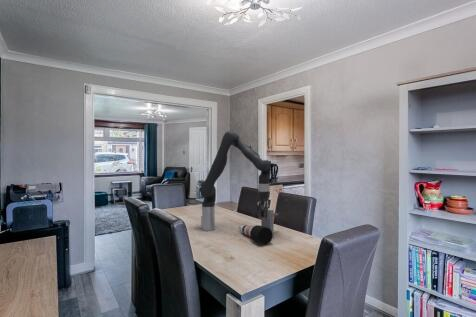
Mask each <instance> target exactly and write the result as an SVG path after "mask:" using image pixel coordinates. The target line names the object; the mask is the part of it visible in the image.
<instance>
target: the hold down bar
mask: <svg viewBox="0 0 476 317" xmlns="http://www.w3.org/2000/svg"><path fill="white" fill-rule="evenodd" d="M268 210H269V208H264V210H263V211H264V216H263V217H261V216H260V215H259V220H260V221H261V220H267V211H268ZM273 215H274V218H276V217H278V216H279V213H278V212H273Z"/></svg>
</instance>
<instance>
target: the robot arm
mask: <svg viewBox="0 0 476 317" xmlns="http://www.w3.org/2000/svg"><path fill="white" fill-rule="evenodd" d="M231 146H234V148H237V149H238V150H239V151H240V152H241V153H242V155H243V156H244V157H245V158H246V159H247V160H248V161H249V162H251V163H252V165H253V166H254V168H256V169H257V170H258V171H260V173H259V175H258V186H257V197H258V198H259V200H258V201H256V207H257V211H259V217H260V216H261V217H263V216H264V211H263V210H264V208H268V209H270V207H271V200H272V199H269V198H270V190H271V189H270V174H271V169H272V168H271V167H272V166H271V162H270V161H269V160H267V159H265V160H264V159H263V158H261V156H260V154H259V153H258V152H256V151H255V150H254V149H253V148H252V147H251V146H249V145H248V144H246V142H244V141H243V139H242V138H241V137H240V135H238V133H236V132H233V131H231V130H230V131H229V130H228V131H226V132H225V133H224V134H223V136H222V139H221V142H220V146H219V148H218V151H217V152H216V155H215V157H214V159H213V162H212V164H211V167H210V169H209V170H208V174H207V176H206V179H205V181H204V182H203V184H202V185H201V188H200V190H199V191H200V196H201V197H203V201H202V202H201V216H200V217H201V219H200V220H201V221H200V222H201V225H200V226H201V227H200V229H201V230H202V231H206V232H211V231H214V230H216V224H215V222H216V221H215V220H216V218H215V217H216V214H215V213H216V212H215V211H216V209H215V208H216V206H215V205H216V201H217V200H216V198H217V189H216V187H215V184H216V182H217V180H218V179H219V178H220V177H221V175H222V173H223V172H224V171H225V168H226V166H227V163H228V154H229V153H228V152H229V150H230V148H231Z"/></svg>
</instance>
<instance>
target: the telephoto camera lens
mask: <svg viewBox="0 0 476 317" xmlns="http://www.w3.org/2000/svg"><path fill="white" fill-rule="evenodd" d="M238 228H239V231H240V233H241V234H244V235H246V236H247V237H250V238H251V240H252V241H253V242H255V243H258V244H261V245H269V244H270V243H271V241H272V240H273V238H272V235H273V234H272V231H271V230H270V229H269V228H267V227H263V226H261V225H258V224H256V225H247V224H242V225H241V226H240V225H239V226H238Z"/></svg>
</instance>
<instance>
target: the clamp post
mask: <svg viewBox="0 0 476 317" xmlns="http://www.w3.org/2000/svg"><path fill="white" fill-rule="evenodd" d="M273 213H274V209H268V211H267V220H260V222H261V225H260V226H263V227H267V228H269V229H270V230H271V231H272V234H273V235H272V237H273V238H274V230H275V229H274V223H275V222H274V218H275V217H274V215H273Z"/></svg>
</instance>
